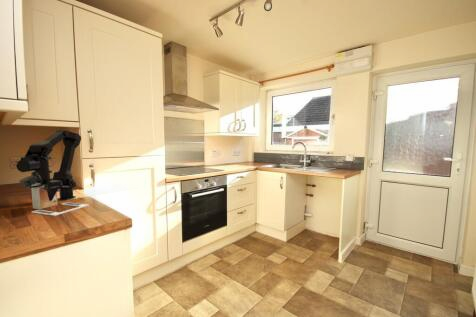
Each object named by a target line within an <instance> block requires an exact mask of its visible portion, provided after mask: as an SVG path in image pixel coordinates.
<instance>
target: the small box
mask: <svg viewBox="0 0 476 317" xmlns="http://www.w3.org/2000/svg"><path fill="white" fill-rule="evenodd" d="M44 188H45V187H44V186H40V187H33V188H31V189H30V190H31V198H32V199H31V200H32V201H31V202H32V203H31V204H32V209H36V210H44V209H46V208H50V207H51V208H52V207H55V205H56V206H58V199H57V198H58V191H57V192H56V194H55V196H54V198H53V200H52V201H49V198H48V193H47V191H46V190H45V189H44Z"/></svg>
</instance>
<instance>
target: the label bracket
mask: <svg viewBox="0 0 476 317" xmlns="http://www.w3.org/2000/svg"><path fill="white" fill-rule="evenodd" d="M61 205H62V206H68V207H69V206H70V207H71V206H72V207H73V208H71V209H67V210H63V211H61V212H58V211H49V210H44V209H36V210H34V211H31V212H30V213H32V214H37V215H38V214H39V215H45V216H46V215H47V216H54V217H57V216H59V215H62V214H66V213H69V212H72V211H75V210H79V209H82V208H85V207H88V206H90V204H87V203H76V202H63V203H61Z"/></svg>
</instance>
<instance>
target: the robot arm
mask: <svg viewBox="0 0 476 317" xmlns="http://www.w3.org/2000/svg"><path fill="white" fill-rule="evenodd" d="M61 141H62V144H63V145H64V149H63V153H62V157H61V162H60V166H59V170H58V171H55V172H54V173H53V171H52V170H50V160H52V156H49V155H50V154H51V153H52V152H53V150H54V149H53V148H54V147H55V146H56V145H57V144H59V143H60V142H61ZM81 141H82V136H81V135H80V134H79V133H76V132H74V131H69V130H66V129H58V130H56V131H55V132H53V133H52V134H51V135H49V136H48V137H47V138H45V139H44V140H42V141H37V142H35V143H32V144H31V145H29V146H28V150H27V151H26V153H25V155H24V156H22V157H20V160H19V161H17V162H16V167H15V168H16V169H17V170H18V171H19V172H20V173H27V172H28V173H29V172H30V173H31V175H29V176H26V177H24V178H22V179H20V180H18V182H19V183H20V185H21V187H22V188H25V187H26V188H28V189H29V190H31V188H33V187H40V186H44V187H45V188H44V189H45V190H46V191H47V193H48V198H49V201H52V200H53V198H54V196H55V194H56V192H57V193H59V197H57V200H59V201H60V200H62V201H66V200H70V199H74V198H75V199H76V196H77V195H76V196H75V195H74V190H73V189H74V188H76V187H77V182H76V181H75V180H74V179H73V174H72V172H71V169H72V165H73V160H74V155H75V151H76V148H77V147H79V145H80V144H81ZM51 173H53V174H52V175H53V176H52V178H51Z"/></svg>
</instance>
